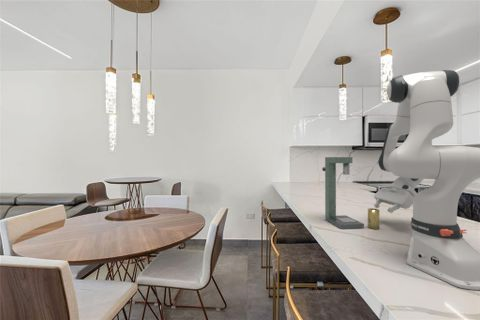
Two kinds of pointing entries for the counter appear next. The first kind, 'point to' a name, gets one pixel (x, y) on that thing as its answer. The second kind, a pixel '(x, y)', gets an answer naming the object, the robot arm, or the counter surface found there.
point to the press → (330, 193)
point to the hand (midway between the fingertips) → (382, 209)
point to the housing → (373, 218)
